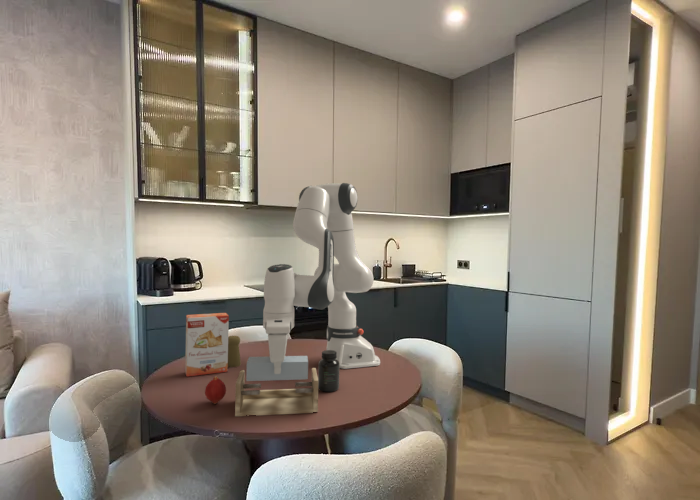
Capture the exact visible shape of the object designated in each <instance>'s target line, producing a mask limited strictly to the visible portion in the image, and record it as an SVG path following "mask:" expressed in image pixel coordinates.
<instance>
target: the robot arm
mask: <svg viewBox="0 0 700 500" xmlns="http://www.w3.org/2000/svg"><path fill="white" fill-rule="evenodd" d="M298 196H299V197H298V203H297V207H296V209H295V213H294V216H293V222H292V229H293V231H294V233H295V235H296V236H297V237H298V238H299V239H300V240H301V241H302V242H304V243H306V244H308V245H310V246H312V247H314V248H317V249H318V263H317V264H318V266H317V267H316V269H315V271H314V274H313V275H307V274H306V275H305V274H297V273H296V272H294V267H293V266H292V265H290V264H285V263H283V264H282V263H280V264H274V265H271V266H269V267H268V268H267V269H266V272H265V276H264V282H263V284H264V285H263V300H264V307H263V310H262V311H263V313H262V315H263V316H262V327H263V329H264V331H265V334H267V342H268V352H269V357H270V361H271V362H272V363H274V373H275V374H280V373H281V362H284V359H285V356H286V352H287V344H288V337H289V334H290V333H291V330H292V329H293V328H294V327H295V307H301V308H303V307H304V308H311V309H315V310H321V311H322V310H325V308H327V310H328V311H327V315H328V316H327V317H328V323H327V324H328V325H327V327H326V341H327V343H326V350H333V351H336V352H337V358H336V359H337V360H338V361H339V364H340V368H339V369H342V370H343V369H345V370H346V369H355V368H357V369H358V368H368V367H375V366H376V367H377V366H380V365H381V359H380V357H379V356H378V355H376V353H375V350H374V347H373V345H372V344H371V342H369V341H368V340H367V339H366V338H364V337H363V336H362V335H363V334H364V330H363V328H361V327H359V326H358V325H357V308H356V305H355V304H354V303H353V302H352V301H350V300H349V298H348V296H347V294H346V293H352V294H357V293H360V294H361V293H366V292H368V291H370V290H371V288H372V287H373V284H374V274H373V272H372V270H371V269H370V268H369V267H368V266H367V265H366V264H365V263H364V262H363V260H362V258H360V256H359V254H358V251H357V247H356V240H355V239H356V238H355V231H354V230H355V227H354V219H353V211H354V210H355V208H357V205H358V201H359V200H358V199H359V197H358V192H357V189H356V187H355V186H353V184H351V183H347V182H342V183H334V182H332V183H324V184H319V185H318V184H317V185H309V186H306V187H304V188H303V189H302V190H301V191H300V193H299V195H298ZM335 259H336V260H337V262H338V263H335ZM294 306H295V307H294Z"/></svg>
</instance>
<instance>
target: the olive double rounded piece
mask: <svg viewBox="0 0 700 500" xmlns="http://www.w3.org/2000/svg"><path fill="white" fill-rule="evenodd" d="M240 344H241V338H240V336H238V335H228V368H237V367H240V366H241V365H242V361H241V354H240Z"/></svg>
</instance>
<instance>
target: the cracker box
mask: <svg viewBox="0 0 700 500" xmlns="http://www.w3.org/2000/svg"><path fill="white" fill-rule="evenodd" d="M185 317H186V318H185V362H184V363H185V364H184V365H185V366H184V368H185V369H184V371H185V375H186V377H195V376H202V375H203V376H205V375H212V374H220V373H227V372H228V368H229V367H228V337H229V328H230V327H229V323H230V322H229V321H230V317H229V314H228V313H227V312H218V313H216V312H215V313H199V314H197V313H196V314H186V315H185Z"/></svg>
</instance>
